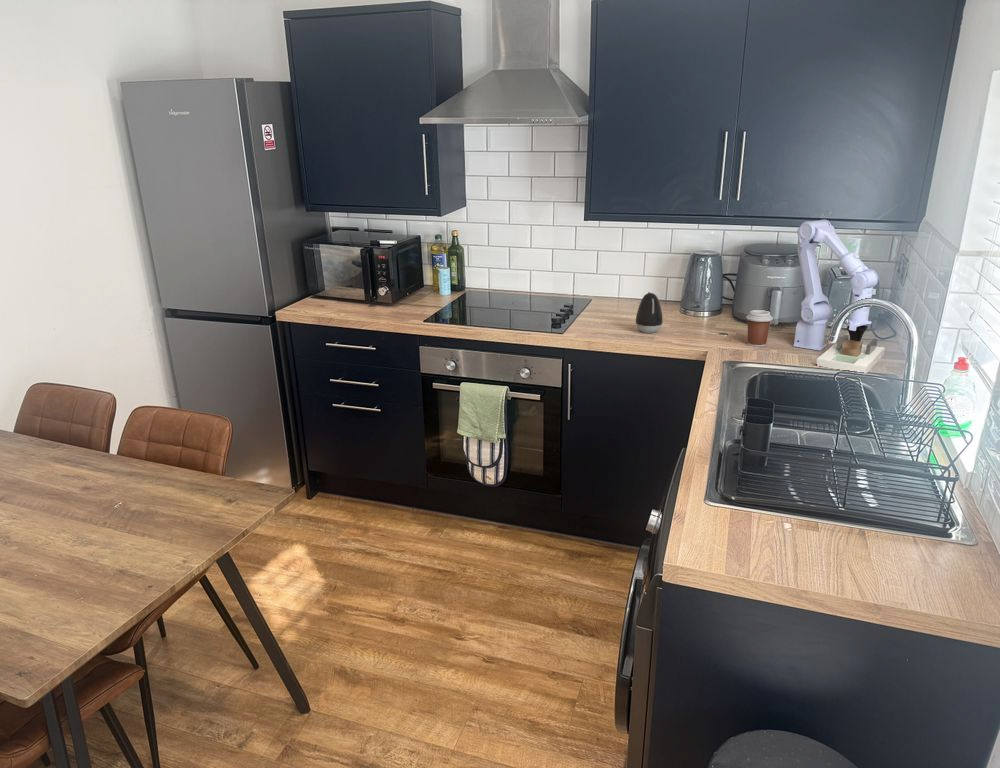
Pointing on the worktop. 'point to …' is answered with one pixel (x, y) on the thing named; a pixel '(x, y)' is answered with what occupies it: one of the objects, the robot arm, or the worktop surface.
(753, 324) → the coffee cup
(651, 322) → the black and white egg-shape
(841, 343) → the channel walls
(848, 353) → the walnut block
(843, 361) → the channel board
